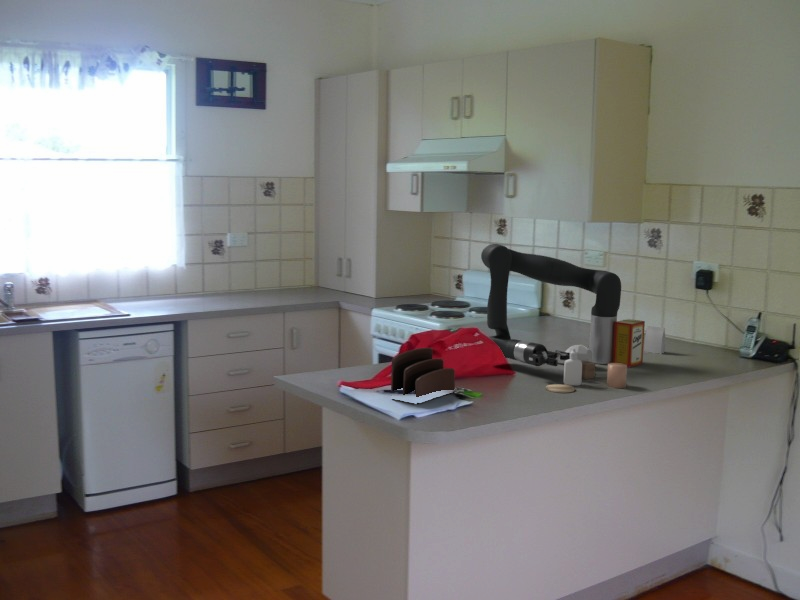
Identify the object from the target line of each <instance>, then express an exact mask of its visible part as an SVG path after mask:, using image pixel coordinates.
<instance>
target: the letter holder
mask: <svg viewBox="0 0 800 600" xmlns="http://www.w3.org/2000/svg"><path fill="white" fill-rule="evenodd" d="M455 375H456V371H455V368H451V367H447V368H444V359H443V358H433V348H431V347H419V348H415V349H410V350H407V351H404V352H402V353H399V354H397V355H395V356H393V357H392V360H391V375H390V376H391V378H390V384H391V385H390V392H391V391H394V390H397V389H401V388H403V395H405V394H408V393H410V392H412V391H414V390H415V394H416V397H419V396H422V395H426V394H429V393H432V392H436V391H441V390H454V389H455V390H456V377H455Z"/></svg>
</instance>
